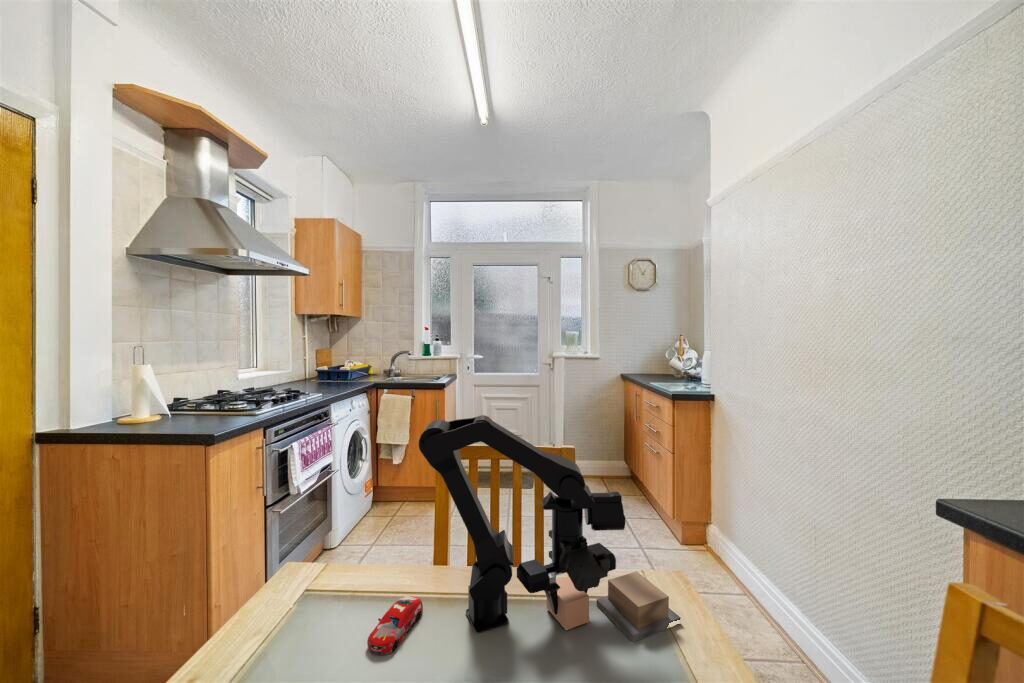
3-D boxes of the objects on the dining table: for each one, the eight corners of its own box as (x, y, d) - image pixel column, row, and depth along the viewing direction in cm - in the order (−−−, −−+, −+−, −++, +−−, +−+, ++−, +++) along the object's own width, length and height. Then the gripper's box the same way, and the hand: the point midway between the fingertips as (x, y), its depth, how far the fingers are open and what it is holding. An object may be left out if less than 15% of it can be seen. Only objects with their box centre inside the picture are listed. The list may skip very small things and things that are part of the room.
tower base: (632, 641, 80) (632, 613, 80) (596, 605, 90) (596, 579, 90) (680, 623, 85) (681, 596, 84) (641, 590, 95) (641, 566, 94)
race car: (388, 662, 76) (387, 639, 76) (361, 654, 78) (360, 632, 78) (428, 612, 89) (427, 592, 89) (404, 606, 91) (403, 587, 90)
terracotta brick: (566, 630, 83) (566, 603, 82) (546, 607, 89) (546, 582, 89) (588, 621, 85) (589, 596, 84) (568, 600, 91) (568, 576, 91)
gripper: (543, 562, 74) (543, 653, 76) (635, 538, 82) (634, 621, 83) (515, 532, 85) (515, 613, 86) (599, 513, 92) (598, 587, 93)
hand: (567, 609), depth 87 cm, fingers closed on terracotta brick, 5 cm apart
